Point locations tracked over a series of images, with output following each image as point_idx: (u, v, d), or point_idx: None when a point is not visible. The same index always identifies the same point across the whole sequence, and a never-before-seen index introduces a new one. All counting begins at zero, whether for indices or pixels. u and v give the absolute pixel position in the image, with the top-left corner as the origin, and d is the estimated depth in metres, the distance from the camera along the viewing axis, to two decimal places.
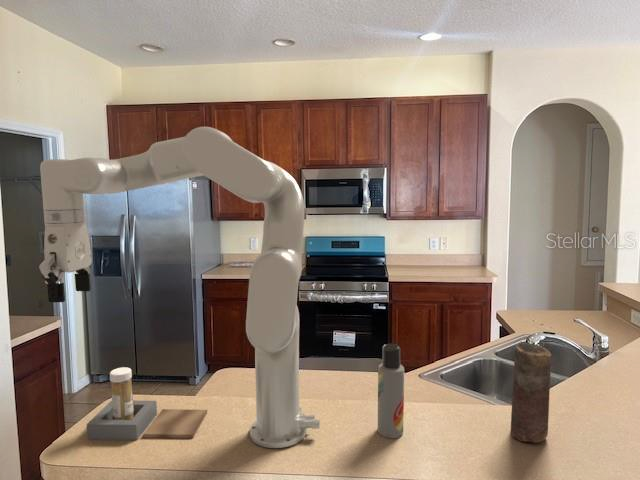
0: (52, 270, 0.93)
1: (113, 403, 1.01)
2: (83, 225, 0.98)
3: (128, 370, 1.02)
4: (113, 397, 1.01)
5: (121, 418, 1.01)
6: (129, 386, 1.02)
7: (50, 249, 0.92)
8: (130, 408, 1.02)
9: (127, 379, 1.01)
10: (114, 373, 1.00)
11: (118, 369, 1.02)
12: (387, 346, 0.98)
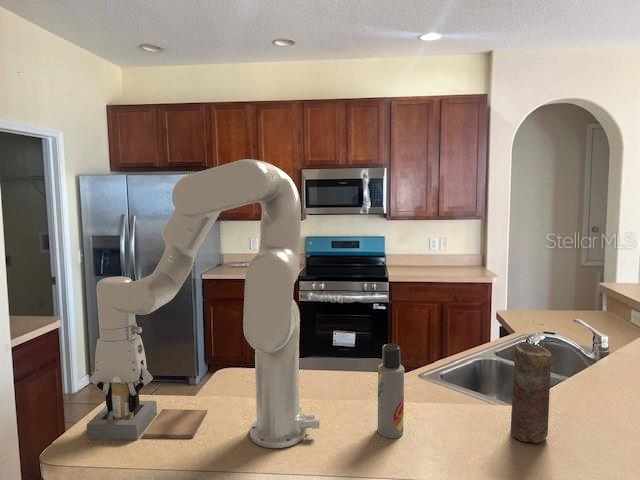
0: (139, 378, 1.01)
1: (113, 403, 1.01)
2: None
3: None
4: (113, 397, 1.01)
5: (121, 418, 1.01)
6: None
7: (140, 358, 1.01)
8: None
9: None
10: None
11: None
12: (387, 346, 0.98)
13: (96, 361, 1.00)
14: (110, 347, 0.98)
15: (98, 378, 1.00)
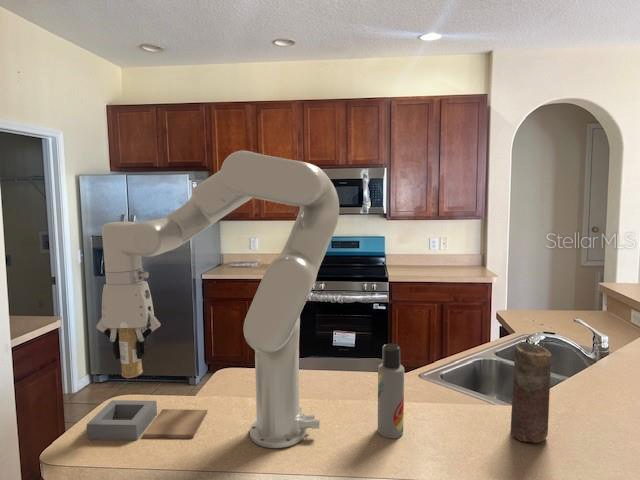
0: None
1: (120, 349, 0.99)
2: None
3: None
4: (121, 343, 0.99)
5: (129, 365, 0.99)
6: None
7: (148, 304, 0.99)
8: None
9: None
10: None
11: None
12: (387, 346, 0.98)
13: (103, 307, 0.98)
14: (116, 291, 0.97)
15: (105, 324, 0.99)
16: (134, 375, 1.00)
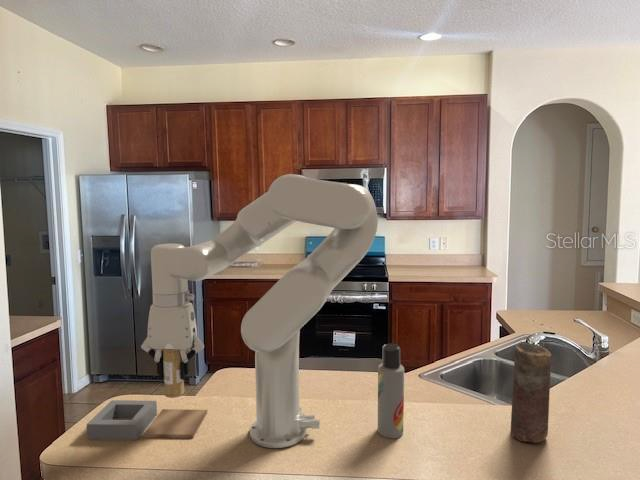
0: None
1: (164, 369, 1.01)
2: None
3: None
4: (165, 364, 1.00)
5: (173, 385, 1.01)
6: None
7: (193, 326, 1.00)
8: None
9: None
10: None
11: None
12: (387, 346, 0.98)
13: (149, 327, 0.99)
14: (163, 313, 0.98)
15: (150, 345, 1.00)
16: (177, 395, 1.01)
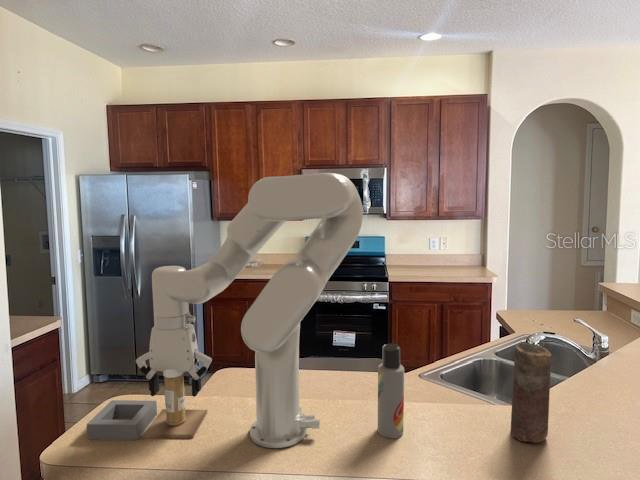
0: (193, 367, 1.01)
1: (166, 398, 1.01)
2: None
3: None
4: (166, 392, 1.01)
5: (174, 413, 1.01)
6: (182, 381, 1.02)
7: (194, 347, 1.01)
8: (182, 403, 1.02)
9: (180, 374, 1.01)
10: None
11: None
12: (387, 346, 0.98)
13: (150, 350, 1.00)
14: (165, 335, 0.99)
15: (152, 367, 1.00)
16: (179, 423, 1.02)
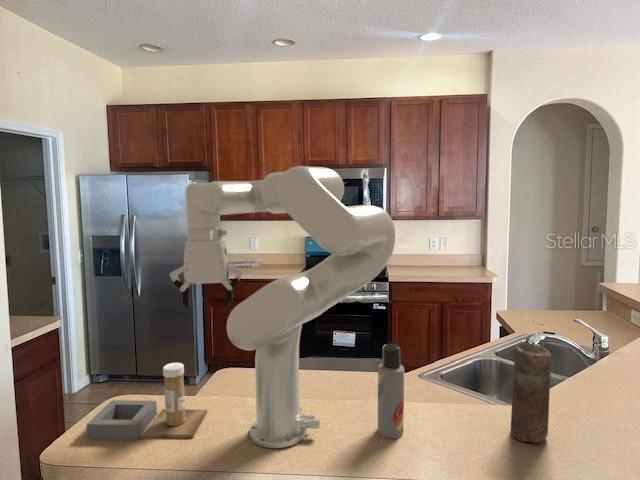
0: None
1: (166, 398, 1.01)
2: None
3: (181, 365, 1.02)
4: (166, 392, 1.01)
5: (174, 413, 1.01)
6: (182, 381, 1.02)
7: (226, 260, 1.07)
8: (182, 403, 1.02)
9: (180, 374, 1.01)
10: (168, 369, 1.00)
11: (170, 364, 1.03)
12: (387, 346, 0.98)
13: (185, 262, 1.05)
14: (199, 247, 1.04)
15: (187, 279, 1.05)
16: (179, 423, 1.02)
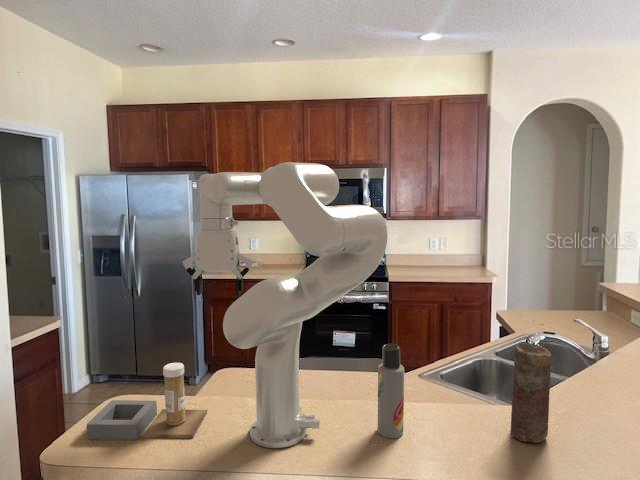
0: None
1: (166, 398, 1.01)
2: None
3: (181, 365, 1.02)
4: (167, 392, 1.01)
5: (174, 413, 1.01)
6: (182, 381, 1.02)
7: (237, 249, 1.09)
8: (182, 403, 1.02)
9: (180, 374, 1.01)
10: (168, 368, 1.00)
11: (171, 364, 1.03)
12: (387, 346, 0.98)
13: (197, 251, 1.08)
14: (211, 236, 1.07)
15: (199, 267, 1.08)
16: (179, 423, 1.02)
